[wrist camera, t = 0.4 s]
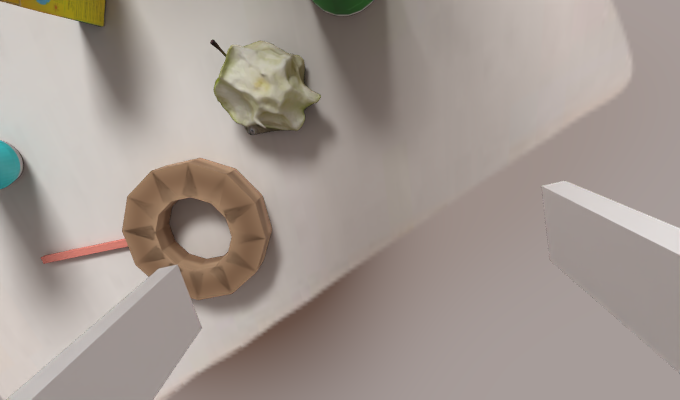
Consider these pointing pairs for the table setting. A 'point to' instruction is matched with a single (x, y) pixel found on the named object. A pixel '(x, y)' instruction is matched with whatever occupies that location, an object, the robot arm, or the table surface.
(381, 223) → the table surface
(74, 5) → the crayon box
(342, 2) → the soda can
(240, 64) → the fruit
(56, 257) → the stick
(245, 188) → the tan flat ring
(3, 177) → the beverage can
